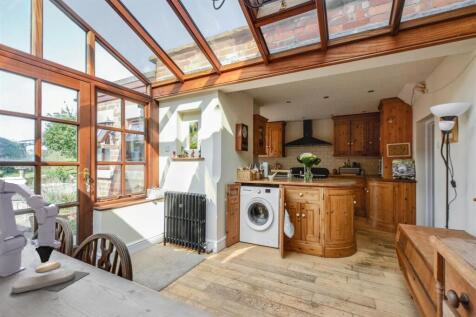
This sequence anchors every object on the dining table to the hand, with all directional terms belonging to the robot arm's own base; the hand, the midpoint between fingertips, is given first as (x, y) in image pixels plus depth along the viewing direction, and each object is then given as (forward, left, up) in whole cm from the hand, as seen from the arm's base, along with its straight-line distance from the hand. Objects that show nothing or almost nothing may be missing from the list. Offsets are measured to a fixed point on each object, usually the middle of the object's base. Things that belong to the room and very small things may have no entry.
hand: (44, 262), depth 93 cm
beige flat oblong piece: (+5, -2, -5) cm, 7 cm away
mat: (+12, -1, -6) cm, 13 cm away
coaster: (-6, +6, -6) cm, 10 cm away
